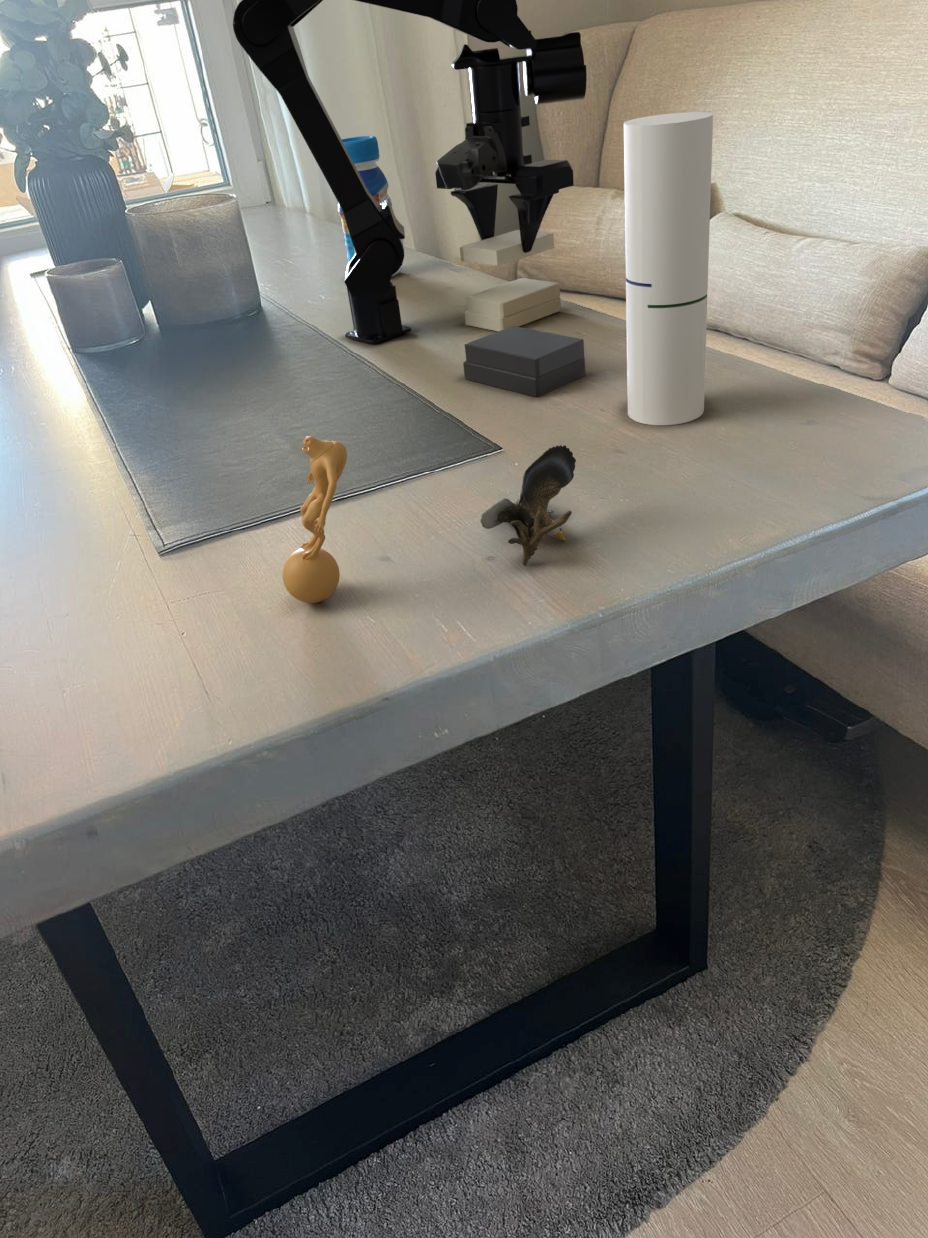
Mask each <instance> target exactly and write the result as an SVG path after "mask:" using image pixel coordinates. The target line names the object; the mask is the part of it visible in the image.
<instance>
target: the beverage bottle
mask: <svg viewBox="0 0 928 1238" xmlns="http://www.w3.org/2000/svg"><path fill="white" fill-rule="evenodd" d="M341 140H342V141H343V143H344V145H345V147H346V149H347V151H348V153H349V155H350V157H351V159H352V161H353V163H354V164H355V166H356V168H357V170H358V172H359V174H360V176H361V178H362V180H363V182H364V184H365V186H366V188H367V189H368V191H369V192H370V193H371V195H372V196H373V197H374V198H375V199H376V201H377V202H378V203H379V204H380V205H381V204H382V203H383V202H384V201H385V200H386V199H389V200H390V203H391V206H392V207H393V202H392V199H391V197H390V196H389V193H388V190H389V182H388V179H387V177H386V176H385V175H386V174H384V172H383V171H382V169H381V168H380V167H379V165H378V164H377V162H378V161H380V149H379V148H380V147H379V141H378V138H377V136H375V135H360V136H354V137H346V138H341ZM337 212H338V215H339V217H340V220H341V226H342V227H341V228H342V232H343V237H344V244H345V250H346V255H347V262H348V263H347V264H349V262H350V261H351V260H352V258H353V257H354V255H355V254H356V252H355V249H354V246H353V243H352V240H351V237H350V234H349V231H348V227H347V224H346V220H345V217H344V214H343V211H342V208H341V206H340V204H339V203H337ZM400 269H401V268H400ZM400 269H399V270H398V271H397V272H396V273H395V274H393V275H392V277H395V276H396V275H397V274H399V273H400Z"/></svg>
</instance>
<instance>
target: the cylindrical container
mask: <svg viewBox="0 0 928 1238" xmlns="http://www.w3.org/2000/svg"><path fill="white" fill-rule="evenodd" d="M713 127H714V114H713V113H712V112H708V111H707V112H706V111H689V112H688V111H687V112H673V113H664V114H663V113H662V114H655V115H648V116H642V117H637V118H632V119H629V120H625V121H624V122H623V176H624V177H623V181H624V185H623V187H624V188H623V189H624V246H625V247H624V249H625V255H624V256H625V315H626V316H625V317H626V318H625V319H626V321H625V322H626V323H625V324H626V328H625V329H626V383H627V385H626V388H627V416H628V417H629V418H630V419H631V420H633V421H634V422H636V423H640V424H644V425H650V426H673V425H674V426H675V425H681V424H685V423H690V422H692V421H695V420H697V419H698V418H699V417H701V416H702V415H703V414H704V411H705V387H706V386H705V385H706V358H707V357H706V354H707V352H706V351H707V324H708V323H707V319H708V316H707V315H708V293H709V290H708V289H709V286H708V285H709V259H710V258H709V257H710V256H709V255H710V230H711V229H710V225H711V224H710V223H711V199H712V197H711V196H712V194H711V193H712V166H713V165H712V164H713V163H712V161H713V132H714V131H713V130H714V128H713Z"/></svg>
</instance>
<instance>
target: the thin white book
mask: <svg viewBox="0 0 928 1238" xmlns="http://www.w3.org/2000/svg"><path fill="white" fill-rule="evenodd" d="M554 238H555V236H554V233H553V232H545V231H544V232H543V231H538V233H537V236H536V239H535V241H534V244H533V247H532V250H531V251H530V252H527V253H524V252H523V249H522V244H521V238H520V229H515V230H512V231H508V232H504V233H502V234H499V235H494V237H491V238H488V239H484V240H478V241H474V242H471V243H468V244H465V245H461V246H459V256H460V261H461V262H462V263H463V262H464V263H471V264H479V265H485V266H493V267H500V266H503V265H506V264H509V263H511V262H512V263H513V262H516V261H519V260H522V259H524V258H528V257H531V256H534V255H537V254H540V253H544V252H546V251H550V250H553V249H554V248H555V240H554Z"/></svg>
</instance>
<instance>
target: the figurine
mask: <svg viewBox="0 0 928 1238" xmlns="http://www.w3.org/2000/svg"><path fill="white" fill-rule="evenodd" d="M302 444H303V445H304V446H303V447H302V448H301V449H302V451H303V453H304V454H306V455H308V456H309V457H310V458H309V468H310V472H309V474H308V475H307V477H306V483H305V484H306V485H307V484H309V485H310V484H311V483H312V484H313V483H314V487H313V488H312V491H311V492H310V494H309V495H308V496H307V498H306V500H305V501H304V503H303V504H302V505H301V506H300V509H299V510H300V511H299V512H300V514H301V516H302V518H301V523H302V525H303V527H304V529H305V530H307V531H308V532H310V533H311V534H312V537H310V539H309V540H308V541H305V542H304V543H302V544H301V547H300V548H298V549H296V550H295V551H293V552H292V553H291V554H289V556H288V557H287V559H286V560H285V562H284V564H283V567H282V582H283V585H284V587H285V590H286V591H287V592H288V593H289V595H291V596H292V597H293V598H294V599H296V600H298V601H300V602H303V603H307V604H317V603H320V602H323V601H325V600H327V599H328V598H329V597H331V596H332V595H333V594H334V592H335V591H336V590H337V588H338V585H339V582H340V578H341V577H340V575H341V574H340V572H341V571H340V567H339V565H338V562H337V560H336V559H335V557H334V556H333V555H332V554H331V553H330V552H329V551H327V550H325V548H324V549H323V548H322V546H323V545H324V543H325V540H326V535H325V529H324V528H325V525H326V520H327V519H326V518H327V515H328V512H329V510H330V507H331V504H332V502H333V499H334V496H335V493H336V490H337V486H338V481H339V479H340V478H341V475H342V473H343V472H344V469H345V467H346V464H347V461H348V460H347V459H348V450H347V447H346V446H345V445H344V444H343V443H342V442H341V441H338V440H322V439H319V438H316V437H314V436H311V435H308V436H305V438H304V439H303V440H302Z"/></svg>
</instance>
